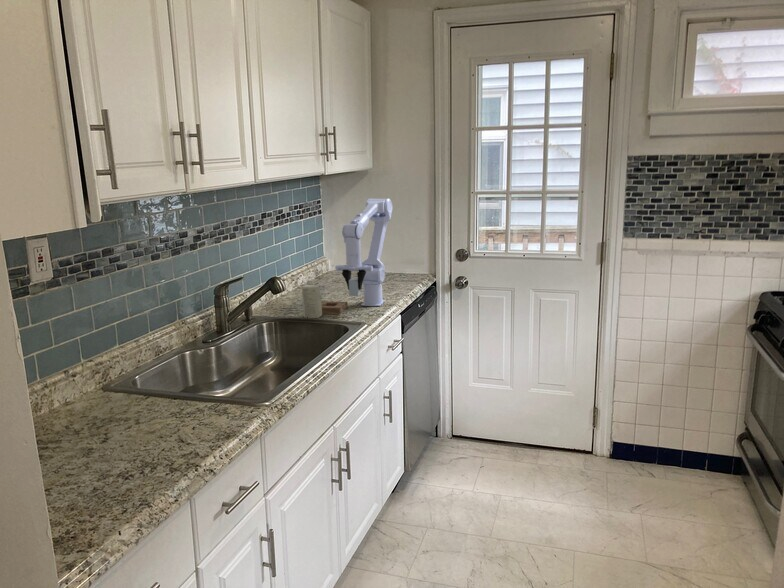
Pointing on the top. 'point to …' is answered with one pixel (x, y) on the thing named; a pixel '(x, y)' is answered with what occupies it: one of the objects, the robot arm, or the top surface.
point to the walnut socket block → (333, 307)
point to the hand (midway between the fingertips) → (354, 289)
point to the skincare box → (311, 301)
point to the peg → (353, 287)
